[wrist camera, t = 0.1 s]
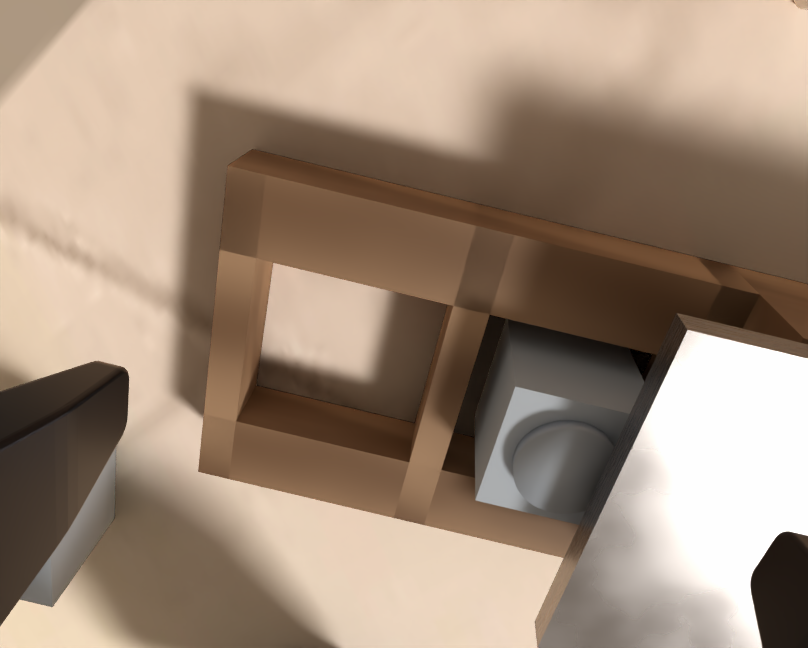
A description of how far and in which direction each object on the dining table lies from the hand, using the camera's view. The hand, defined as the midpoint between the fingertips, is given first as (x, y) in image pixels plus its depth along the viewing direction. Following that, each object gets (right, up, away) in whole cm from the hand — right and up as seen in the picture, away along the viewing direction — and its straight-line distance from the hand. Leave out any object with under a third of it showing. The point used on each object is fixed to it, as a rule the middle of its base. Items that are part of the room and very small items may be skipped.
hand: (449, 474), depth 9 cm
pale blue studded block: (+5, 0, +16) cm, 17 cm away
